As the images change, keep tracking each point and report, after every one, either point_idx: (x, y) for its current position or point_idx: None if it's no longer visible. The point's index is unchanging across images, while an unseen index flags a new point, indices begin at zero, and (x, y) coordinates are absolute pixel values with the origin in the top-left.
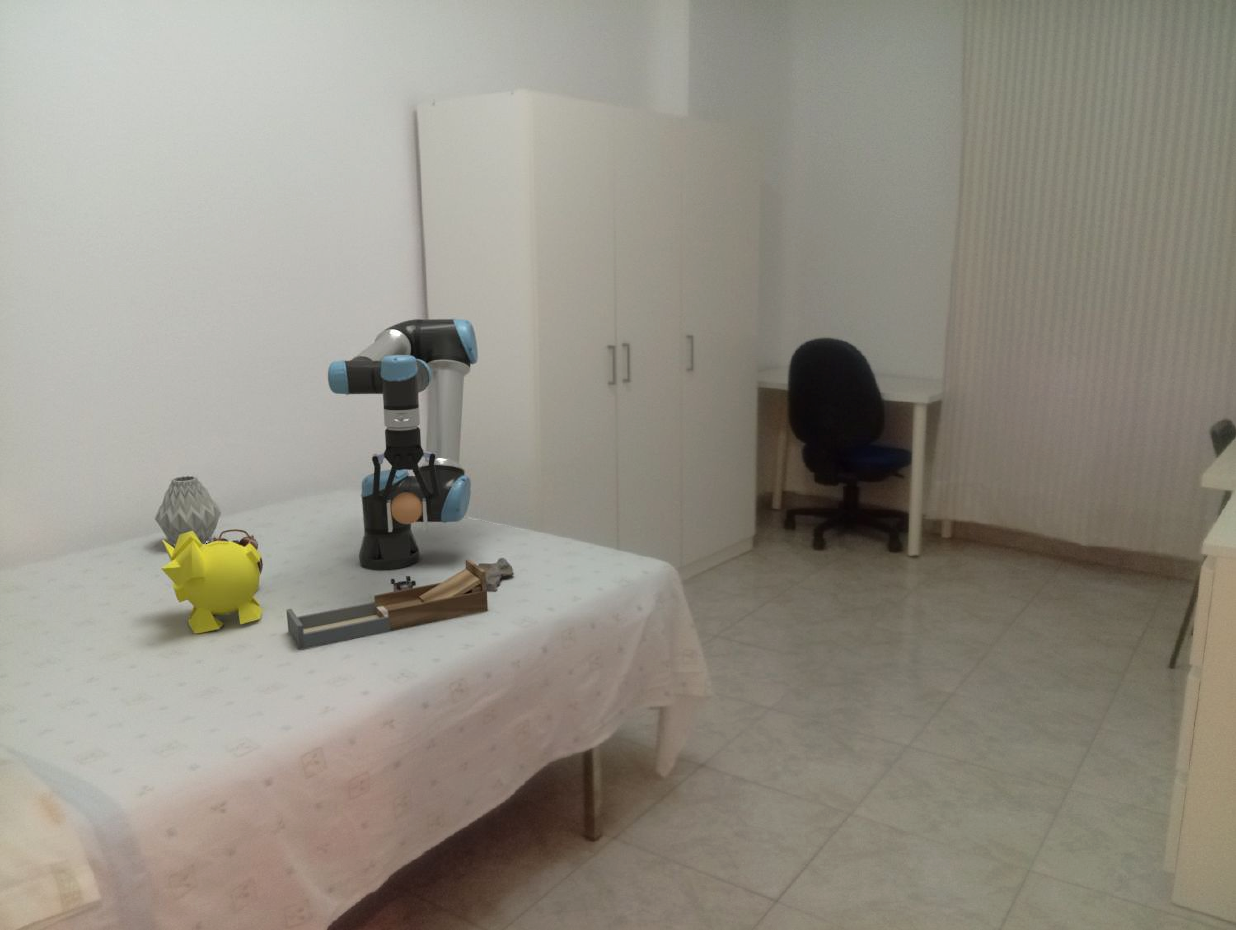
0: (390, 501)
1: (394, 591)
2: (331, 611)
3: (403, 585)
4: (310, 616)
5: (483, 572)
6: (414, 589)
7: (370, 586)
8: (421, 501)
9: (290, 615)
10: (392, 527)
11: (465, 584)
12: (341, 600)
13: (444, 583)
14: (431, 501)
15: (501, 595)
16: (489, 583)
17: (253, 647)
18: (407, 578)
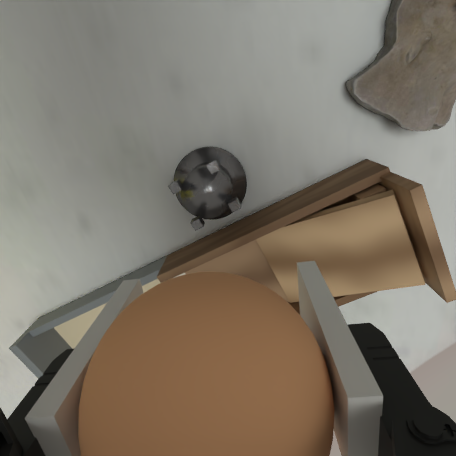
0: (67, 449)
1: (198, 257)
2: (89, 310)
3: (208, 201)
4: (59, 324)
5: (449, 300)
6: (244, 244)
7: (95, 64)
8: (333, 424)
9: (33, 373)
10: (138, 286)
11: (380, 277)
12: (63, 168)
13: (320, 227)
14: (420, 390)
15: (446, 160)
16: (433, 124)
17: (17, 364)
18: (212, 173)
